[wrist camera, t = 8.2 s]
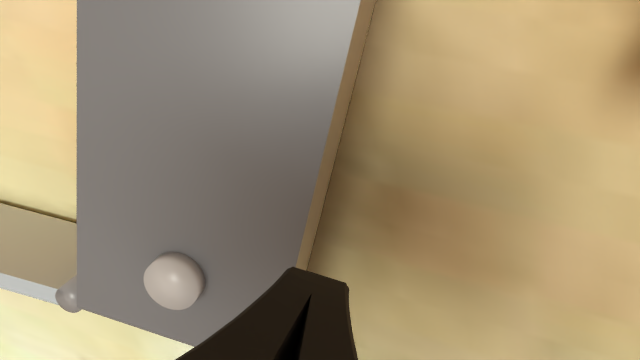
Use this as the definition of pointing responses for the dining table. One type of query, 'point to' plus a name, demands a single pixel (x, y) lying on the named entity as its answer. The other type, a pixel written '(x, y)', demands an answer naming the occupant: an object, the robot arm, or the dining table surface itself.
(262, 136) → the camera body
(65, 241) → the grey long bar
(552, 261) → the dining table surface
